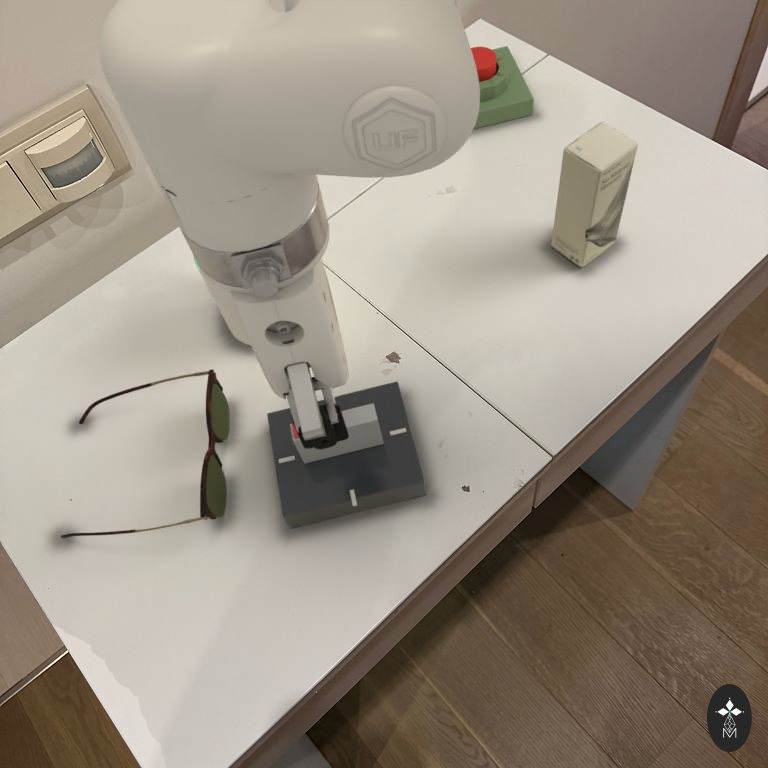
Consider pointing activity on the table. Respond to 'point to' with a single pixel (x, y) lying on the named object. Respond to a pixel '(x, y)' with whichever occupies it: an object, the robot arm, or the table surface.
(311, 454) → the long grey beam
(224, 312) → the mug
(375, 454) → the plate
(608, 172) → the box
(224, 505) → the sunglasses
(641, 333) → the table surface
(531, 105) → the button box
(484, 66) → the button
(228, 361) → the table surface
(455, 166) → the table surface
